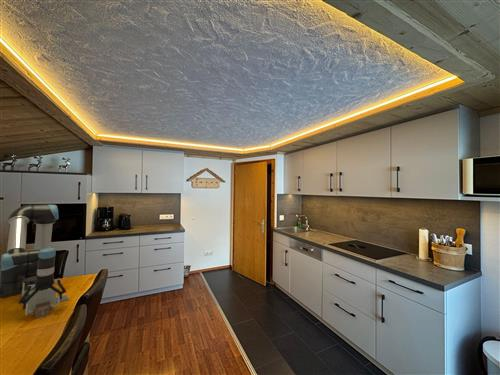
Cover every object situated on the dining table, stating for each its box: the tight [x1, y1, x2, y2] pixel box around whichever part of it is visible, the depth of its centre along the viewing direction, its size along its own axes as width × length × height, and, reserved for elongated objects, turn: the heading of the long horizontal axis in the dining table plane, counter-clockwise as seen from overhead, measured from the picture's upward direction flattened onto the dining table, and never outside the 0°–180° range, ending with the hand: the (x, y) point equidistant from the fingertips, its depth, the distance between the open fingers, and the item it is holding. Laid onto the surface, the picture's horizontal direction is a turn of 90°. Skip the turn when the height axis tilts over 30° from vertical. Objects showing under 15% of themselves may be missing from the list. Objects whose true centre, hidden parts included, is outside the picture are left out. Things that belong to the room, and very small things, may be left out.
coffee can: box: [21, 274, 38, 303], centre depth 139 cm, size 10×10×14 cm
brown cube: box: [34, 301, 51, 319], centre depth 123 cm, size 6×6×6 cm
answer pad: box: [55, 294, 69, 304], centre depth 139 cm, size 8×8×1 cm
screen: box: [27, 288, 57, 315], centre depth 128 cm, size 5×12×12 cm, turn 138°
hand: (42, 309), depth 123 cm, fingers open, 13 cm apart
